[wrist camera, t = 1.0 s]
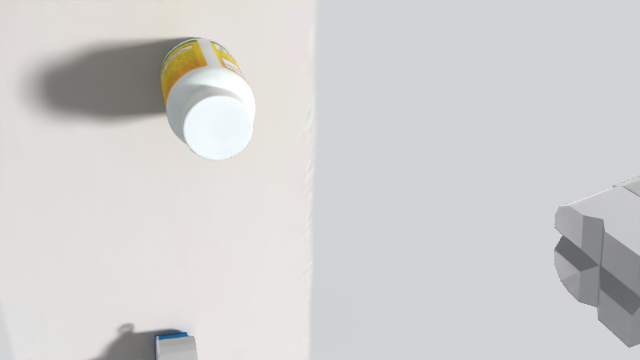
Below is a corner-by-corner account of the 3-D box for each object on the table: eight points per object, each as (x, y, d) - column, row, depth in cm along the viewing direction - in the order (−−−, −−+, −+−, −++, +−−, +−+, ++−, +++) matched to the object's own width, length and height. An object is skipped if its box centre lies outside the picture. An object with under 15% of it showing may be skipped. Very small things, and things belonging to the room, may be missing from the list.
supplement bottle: (240, 40, 40) (272, 87, 32) (231, 112, 43) (259, 172, 35) (161, 31, 39) (174, 79, 31) (156, 107, 41) (167, 169, 33)
